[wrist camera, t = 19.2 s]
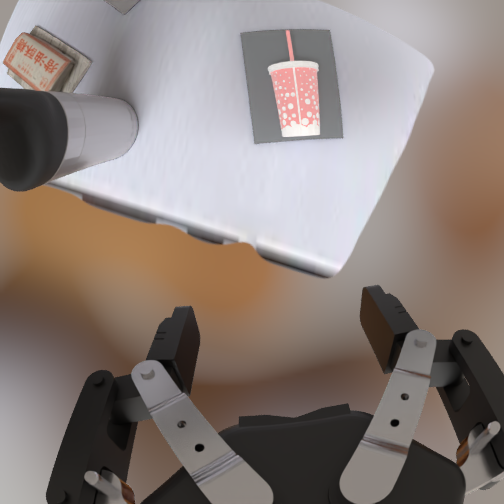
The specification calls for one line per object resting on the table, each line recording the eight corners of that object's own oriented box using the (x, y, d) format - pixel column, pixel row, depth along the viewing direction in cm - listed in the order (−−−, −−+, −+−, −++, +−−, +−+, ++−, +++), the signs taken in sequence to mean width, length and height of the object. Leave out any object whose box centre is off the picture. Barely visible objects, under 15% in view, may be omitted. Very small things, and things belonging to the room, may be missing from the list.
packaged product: (-6, 72, 24) (23, 21, 21) (11, 73, 28) (39, 26, 25) (43, 117, 29) (78, 57, 26) (61, 116, 33) (95, 62, 30)
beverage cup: (324, 133, 34) (312, 35, 29) (328, 135, 29) (312, 21, 23) (278, 135, 36) (266, 39, 30) (273, 138, 30) (258, 26, 25)
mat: (254, 143, 36) (254, 143, 36) (240, 34, 30) (240, 32, 29) (342, 137, 36) (343, 138, 35) (328, 31, 29) (329, 30, 29)
